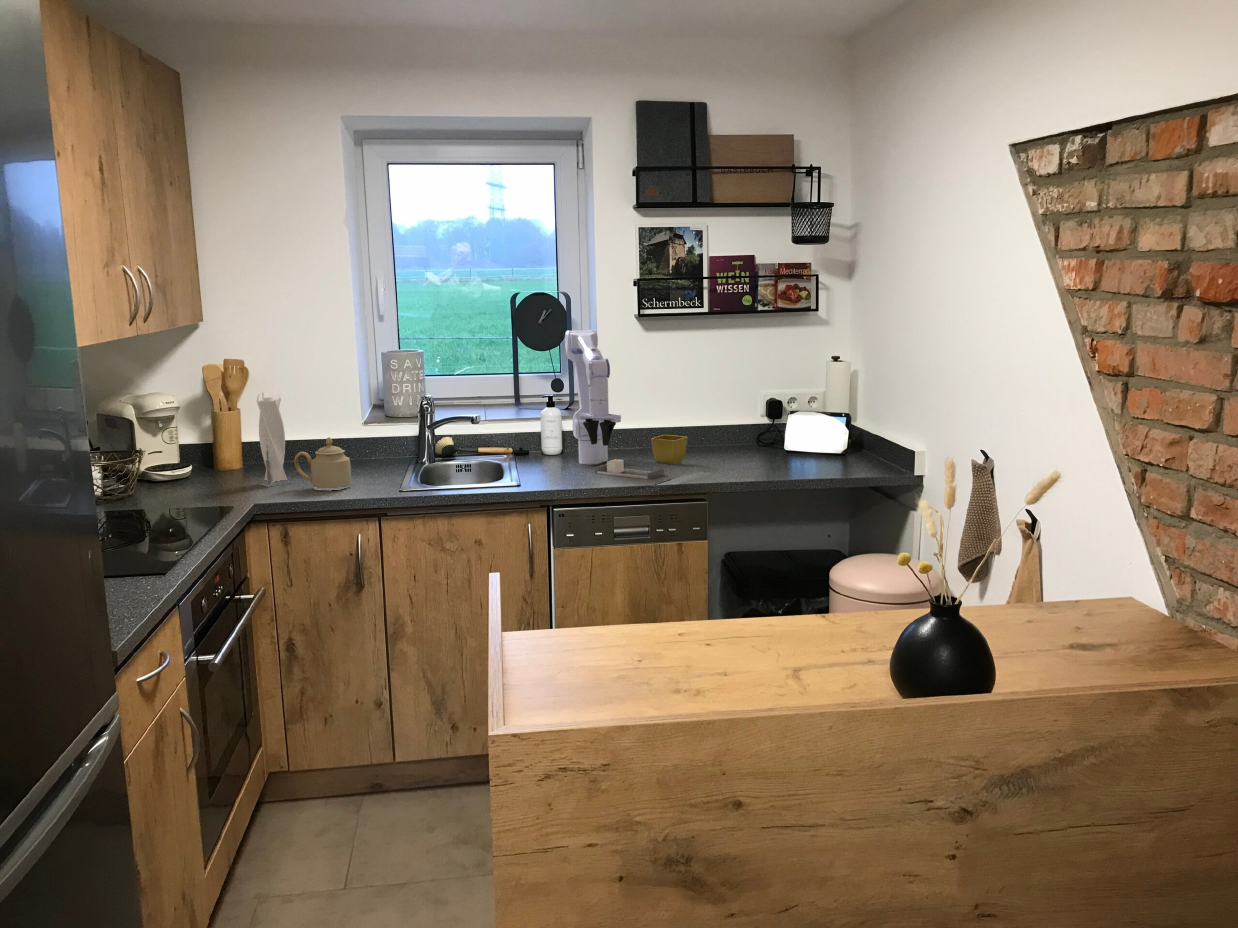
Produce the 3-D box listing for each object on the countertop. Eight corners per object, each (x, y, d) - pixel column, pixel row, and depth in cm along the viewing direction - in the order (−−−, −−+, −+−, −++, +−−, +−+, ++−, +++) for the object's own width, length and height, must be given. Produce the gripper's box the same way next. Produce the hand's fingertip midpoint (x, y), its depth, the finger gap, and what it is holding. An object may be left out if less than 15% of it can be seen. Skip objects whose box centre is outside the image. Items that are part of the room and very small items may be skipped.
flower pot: (688, 464, 308) (688, 436, 306) (675, 468, 301) (674, 440, 299) (664, 462, 313) (664, 434, 311) (650, 466, 306) (650, 438, 304)
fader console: (605, 472, 298) (605, 462, 297) (671, 479, 284) (671, 469, 283) (587, 477, 290) (587, 466, 290) (654, 485, 277) (654, 474, 276)
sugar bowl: (303, 494, 275) (299, 442, 272) (295, 488, 284) (291, 437, 282) (356, 488, 282) (352, 437, 279) (346, 482, 291) (343, 433, 289)
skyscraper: (255, 485, 292) (247, 392, 287) (280, 480, 298) (272, 390, 293) (269, 488, 287) (261, 394, 281) (294, 484, 292) (286, 391, 287)
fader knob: (615, 470, 292) (615, 458, 292) (623, 471, 291) (623, 459, 290) (607, 473, 289) (606, 461, 288) (615, 474, 287) (615, 462, 286)
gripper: (571, 400, 290) (572, 444, 292) (610, 402, 282) (611, 448, 284) (585, 397, 296) (586, 441, 298) (624, 399, 287) (625, 444, 290)
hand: (600, 444), depth 291 cm, fingers open, 4 cm apart
